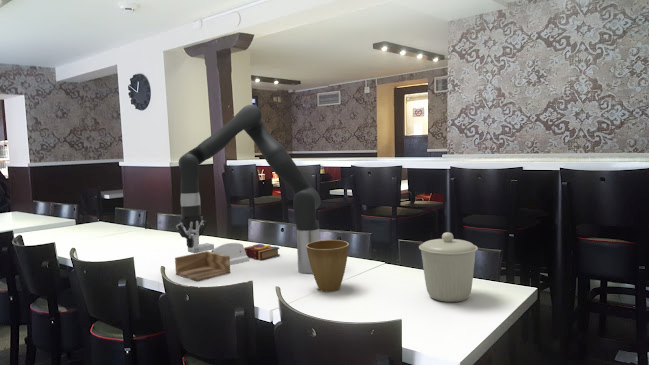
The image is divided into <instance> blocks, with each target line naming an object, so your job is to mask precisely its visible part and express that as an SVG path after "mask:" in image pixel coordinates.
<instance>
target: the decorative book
mask: <svg viewBox="0 0 649 365" xmlns="http://www.w3.org/2000/svg"><path fill="white" fill-rule="evenodd" d="M244 249H245V252H246V255H247V256H248V258H249V259H253V260H255V261H257V260H258V261H265V260H268V259H272V258H277V257H280V256H281V255H280V254H279V250H280V247H279V246H271V245H270V244H268V245H265V244H262V243H258V244H257V243H256V244H253V245H249V246H246V247H245V246H244Z"/></svg>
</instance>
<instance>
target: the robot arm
mask: <svg viewBox="0 0 649 365" xmlns="http://www.w3.org/2000/svg"><path fill="white" fill-rule="evenodd" d="M242 131H245V133H246V134H247V135H248V137H250V139H251V140H252V141H253V142H254V144H256V146H257V148H258V150H259V151H260V153H261V155H262V156H263V158H264V159H265V160H266V162H267V164H268V165H269V167H270V168H271V169H272V171H273V173H274V174H276V175H277V177H279V178H280V179H281V180H283V181H284V182H285V183H286V184H288V185H289V187H290V188H291V189H292V190H293V193H294V194H295V195H294V197H293V203H292V204H293V207H292V208H293V219H294V223H295V225H296V226H295V227H296V246H297V247H296V248H297V251H296V252H297V268H298V269H297V271H298V272H299V273H301V274H312V275H313V272H312V269H311V266H310V262H309V258H308V253H307V248H306V245H307V244H309V243H311V242H315V241H321V239H320V222H319V220H318V219H317V214H316V210H317V209H318V208H319V207H320V205H321V197H320V194H319V192H318V191H317V190H316V189H315V188H314V187H313V186H312V184H310V182H309V181H308V180H307V179H306V177H305V176H304V175H303V173H302V172H301V170H300V169H299V167H298V166H297V165H296V163H295V161H294V160H293V158H292V157H291V155H290V154H289V152H288V151H287V149H286V148H285V147H284V145H282V144H281V143H280V142H279V141H278V140H277V139H275V137H273V136H272V135H271V134H270V133H269V131H268V130H267V128H266V126H265V125H264V123H263V114H262V111H261V109H260V107H258V106H257V105H255V104H247V105H245V106H243V107H242V108H241V109H240V110H239V111H238V112H237V113H236V114H235V115H234V117H232V118H231V119H230V120H229V121H228V122H227V123H226V124H225V125H223V126H222V127H220V129H218V130H217V131H216V132H213V134H212V135H210V136H208V137H207V138H206V139H204V140H203V141H202V142H200V143H199V144H198V145H197V146H196V147H194V148H192V149H190V150H189V151H188V152H186V153H185V154H182V156H180V158H179V159H178V167H179V168H180V176H181V177H180V213H181V215H180V216H181V220H180V223H178V224H176V225H175V226H174V227H175V229H176V230H177V233H179V236H180V237H181V238H184V239H186V246H187V249H188V248H192V239H191V234H195V235H198V244H199V245H200V238H199V237H200V236H203V234H204V233H205V231H206V228H207V226H208V223H209V222H208V221H207V220H203V219H202V217H201V215H202V210H201V208H202V207H201V195H200V185H199V176H200V175H199V172H200V165H201V164H202V163H204V162H205V161H208V160H210V159H212V157H214V156H215V155H216V154H218V153H219V152H221V151H222V150H223V149H224V148H225V147H226V146H227V145H228V144H229V143H230V142H231V141H232V140H233V139H234V138H235V137H236V136H237V135H238V134H239V133H242Z"/></svg>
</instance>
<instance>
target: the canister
mask: <svg viewBox="0 0 649 365" xmlns="http://www.w3.org/2000/svg"><path fill="white" fill-rule="evenodd" d="M418 249H419V250H420V253H421V261H422V266H423V267H422V268H423V275H424V281H425V282H424V283H425V287H426V291H427V294H428V295H429V297H431V298H432V299H434V300H437V301H439V302H446V303H455V302H456V303H458V302H463V301H465V300H467V299H468V298H469V297H470V295H471V293H472V287H473V279H474V271H475V264H476V262H475V260H476V252H477V251H478V249H479V247H478V246H477V245H475V244H473V243H472V242H470V241H467V240H464V239H458V238H457V239H456V238H454V235H453V233H452V232H447V231H446V232H443V233H442V235H441V238H437V239H436V238H435V239H429V240H427V241H424V242H423V243H421V244H419V245H418Z"/></svg>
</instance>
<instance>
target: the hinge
mask: <svg viewBox="0 0 649 365" xmlns="http://www.w3.org/2000/svg"><path fill="white" fill-rule="evenodd" d="M244 248H245V246H244V244H242V243H240V242H239V243H238V242H231V243H230V242H228V243H222V244H221V245H218V246H217V247H214V249H213V250H210V252H213V253H217V254H222V255H226V256H230V266H234V265H237V264H243V263H245V262H246V263H247V262H250V258H248V256H247V255H246V252H245V249H244Z"/></svg>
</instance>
